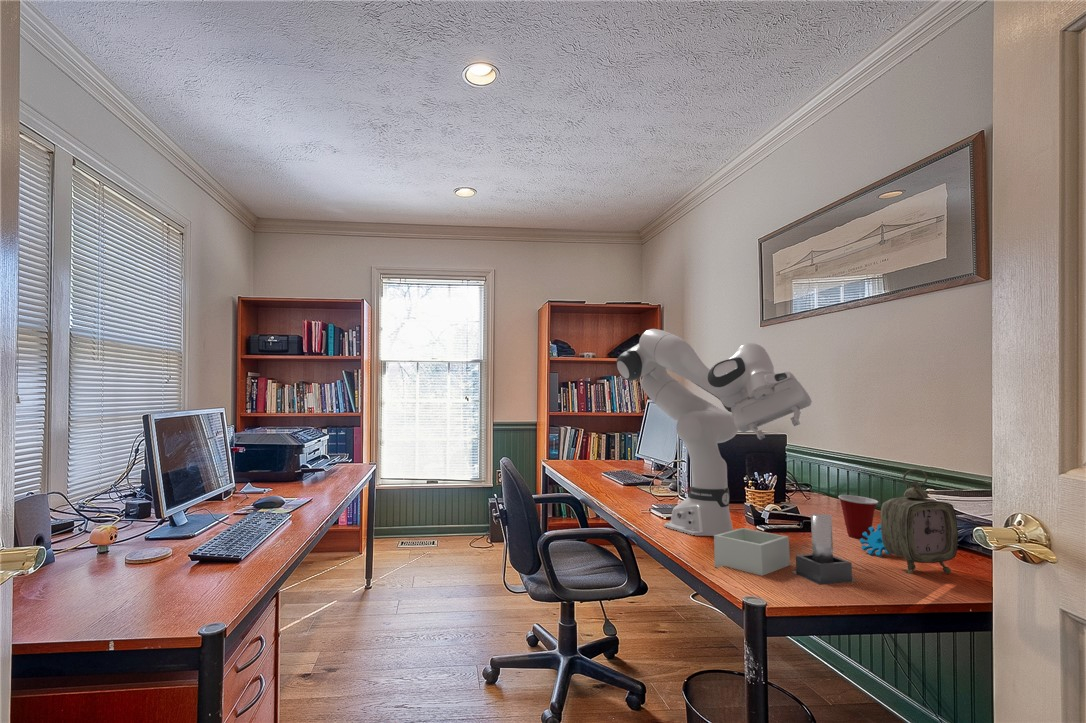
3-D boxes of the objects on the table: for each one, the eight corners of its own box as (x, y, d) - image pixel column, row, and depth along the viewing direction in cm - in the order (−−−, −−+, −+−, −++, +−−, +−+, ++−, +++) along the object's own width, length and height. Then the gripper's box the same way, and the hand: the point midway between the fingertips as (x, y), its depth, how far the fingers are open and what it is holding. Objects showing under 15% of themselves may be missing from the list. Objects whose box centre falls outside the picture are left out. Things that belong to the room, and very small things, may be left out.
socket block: (791, 575, 136) (790, 554, 137) (826, 572, 139) (826, 551, 139) (820, 589, 127) (819, 566, 127) (858, 585, 129) (857, 563, 129)
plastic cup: (879, 543, 166) (878, 501, 167) (838, 538, 172) (836, 498, 172) (880, 535, 175) (878, 496, 176) (841, 531, 181) (839, 493, 182)
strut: (808, 575, 133) (806, 515, 134) (818, 571, 136) (815, 512, 137) (829, 580, 129) (826, 518, 130) (838, 576, 132) (835, 515, 133)
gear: (851, 544, 158) (872, 518, 160) (861, 557, 160) (881, 531, 162) (887, 560, 148) (908, 532, 150) (897, 574, 149) (918, 545, 151)
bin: (714, 567, 143) (713, 535, 144) (743, 558, 152) (742, 527, 152) (762, 579, 133) (761, 545, 134) (789, 569, 142) (788, 536, 142)
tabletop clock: (908, 580, 133) (903, 472, 134) (878, 568, 141) (874, 468, 143) (960, 575, 135) (954, 470, 137) (927, 564, 144) (922, 466, 146)
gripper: (724, 400, 159) (736, 440, 150) (795, 368, 150) (812, 410, 140) (734, 410, 163) (746, 451, 153) (804, 381, 153) (821, 421, 144)
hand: (778, 431), depth 147 cm, fingers open, 8 cm apart
